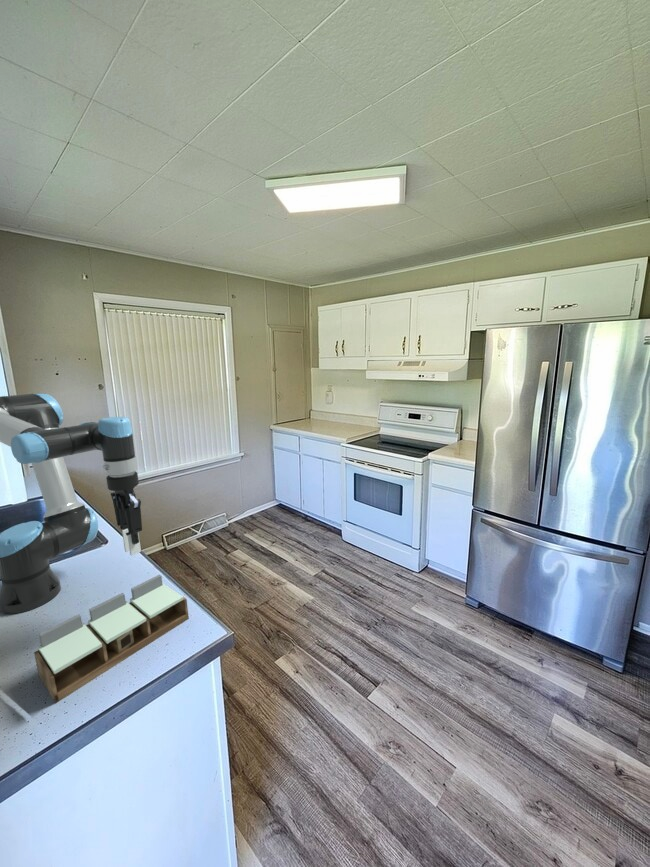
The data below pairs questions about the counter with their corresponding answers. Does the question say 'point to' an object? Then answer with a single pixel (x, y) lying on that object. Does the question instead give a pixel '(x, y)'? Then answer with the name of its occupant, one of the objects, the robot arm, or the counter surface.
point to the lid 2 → (114, 618)
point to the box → (108, 653)
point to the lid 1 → (67, 643)
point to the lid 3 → (154, 596)
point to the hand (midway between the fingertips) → (133, 551)
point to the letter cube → (122, 642)
